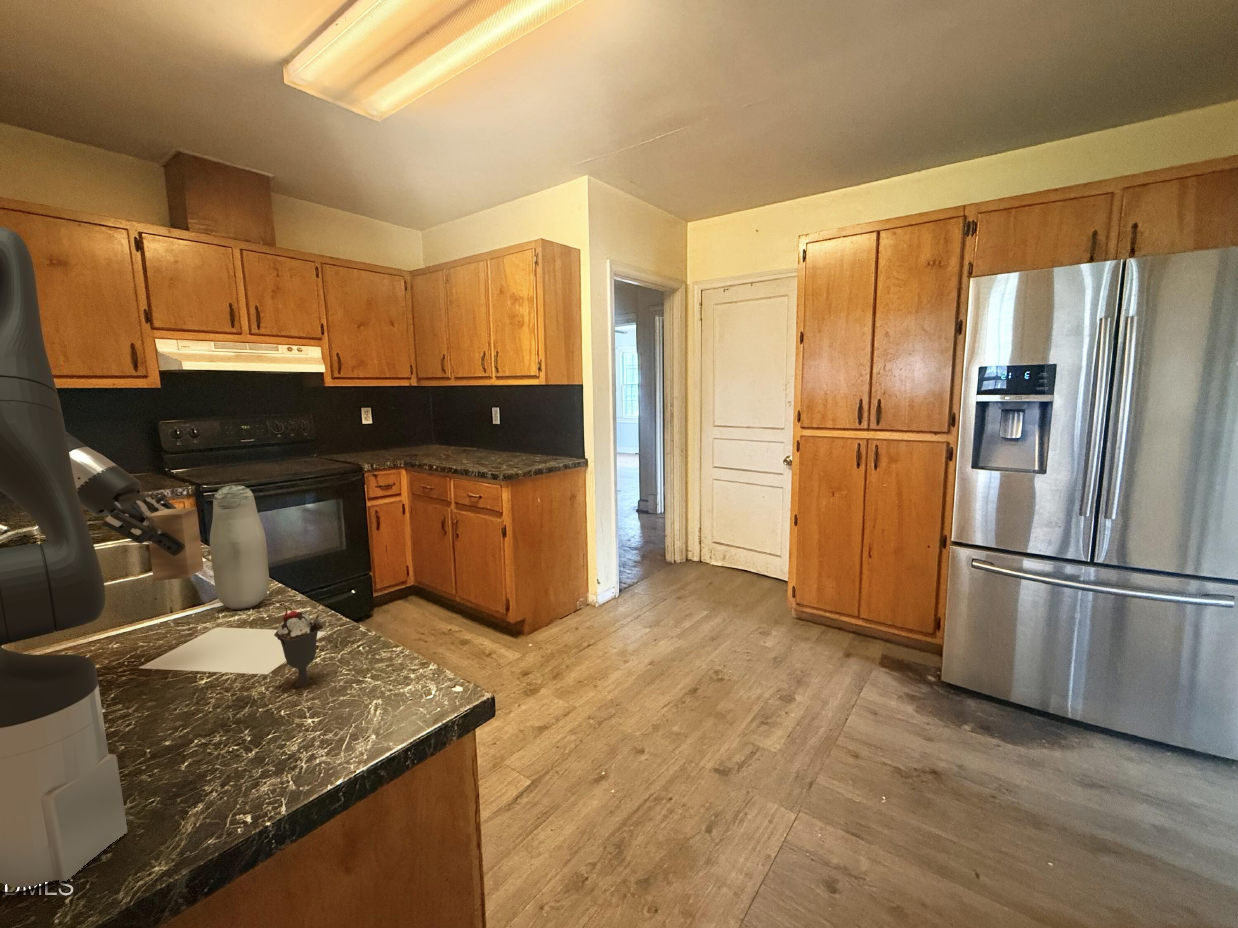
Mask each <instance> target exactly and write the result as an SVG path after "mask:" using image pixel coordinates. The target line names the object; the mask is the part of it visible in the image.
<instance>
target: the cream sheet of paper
mask: <svg viewBox="0 0 1238 928" xmlns="http://www.w3.org/2000/svg"><path fill="white" fill-rule="evenodd" d="M277 631H278V629H268V628H267V629H266V628H265V629H264V628H242V627H241V628H240V627H221V626H220V627H214V628H212V629H210V630H208V631H207V632H205V633H203V634H201V635H199V636H197V637H195V638H193V639H191V640H189V641H188V642H186V643H185V642H184V643H183V644H181V645H180V646H178V647H176V648H174V649H172V650H170V651H168V652H166V653H164V654H163V655H161V656H158V657H157V658H155V659H153V660H150V661H149V662H147V663H145V664H144V665H142V666H139V667H138V669H149V670H167V671H169V670H170V671H171V670H172V671H187V672H188V671H189V672H190V671H191V672H206V673H207V672H209V673H210V672H211V673H230V674H248V675H249V674H251V675H268V674H270V673H272V671H274V670H275V669H277V668H278V667H280V666H281V665H282V664H284V663H285V662H287V661H286V659H285V656H284V652H283V648H282V644H281V641H280V640H278V638H277V637H275V636H274V634H275V633H276V632H277ZM327 633H328V631H321V630H319V631H318V633H317V640H319V639H320V638H321V637H323V636H324V635H325V634H327Z"/></svg>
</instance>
